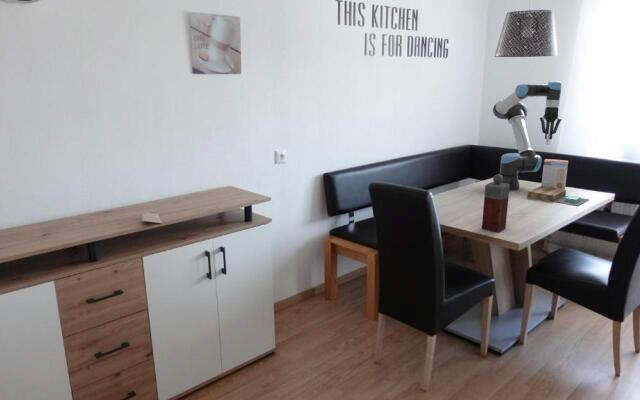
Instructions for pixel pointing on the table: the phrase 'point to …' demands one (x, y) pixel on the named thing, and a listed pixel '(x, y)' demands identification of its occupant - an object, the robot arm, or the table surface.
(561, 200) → the mat
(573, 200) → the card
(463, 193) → the table surface
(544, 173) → the cracker box
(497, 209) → the red square decanter
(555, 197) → the deck
